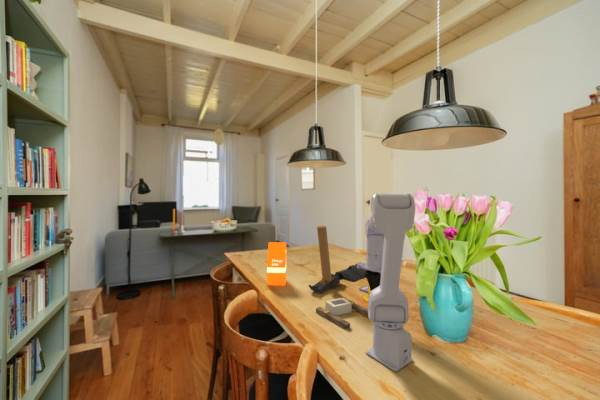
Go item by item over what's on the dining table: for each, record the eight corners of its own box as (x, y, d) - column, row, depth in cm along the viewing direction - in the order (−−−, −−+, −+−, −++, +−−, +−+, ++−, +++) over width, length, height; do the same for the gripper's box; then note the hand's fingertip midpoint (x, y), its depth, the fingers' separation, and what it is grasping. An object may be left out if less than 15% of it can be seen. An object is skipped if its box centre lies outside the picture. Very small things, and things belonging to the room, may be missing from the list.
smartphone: (367, 287, 124) (396, 296, 113) (358, 290, 119) (387, 300, 108) (367, 285, 124) (396, 294, 113) (358, 288, 119) (388, 298, 108)
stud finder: (351, 312, 97) (351, 302, 97) (333, 316, 93) (333, 306, 93) (342, 306, 102) (342, 297, 101) (325, 310, 98) (325, 300, 98)
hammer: (318, 300, 112) (310, 233, 107) (309, 297, 115) (302, 232, 111) (343, 281, 126) (338, 221, 122) (335, 278, 130) (329, 220, 125)
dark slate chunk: (330, 276, 140) (330, 267, 139) (353, 268, 155) (353, 260, 155) (354, 283, 129) (354, 274, 129) (376, 274, 144) (376, 266, 144)
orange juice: (285, 285, 124) (285, 243, 123) (266, 285, 124) (267, 243, 123) (286, 280, 131) (286, 240, 131) (269, 279, 132) (269, 240, 131)
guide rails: (375, 316, 93) (375, 311, 93) (345, 329, 84) (345, 323, 84) (344, 302, 105) (344, 298, 105) (315, 312, 96) (315, 307, 96)
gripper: (400, 256, 87) (399, 297, 87) (365, 249, 98) (365, 284, 99) (387, 259, 82) (386, 302, 83) (353, 251, 94) (352, 288, 94)
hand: (374, 292), depth 90 cm, fingers closed
